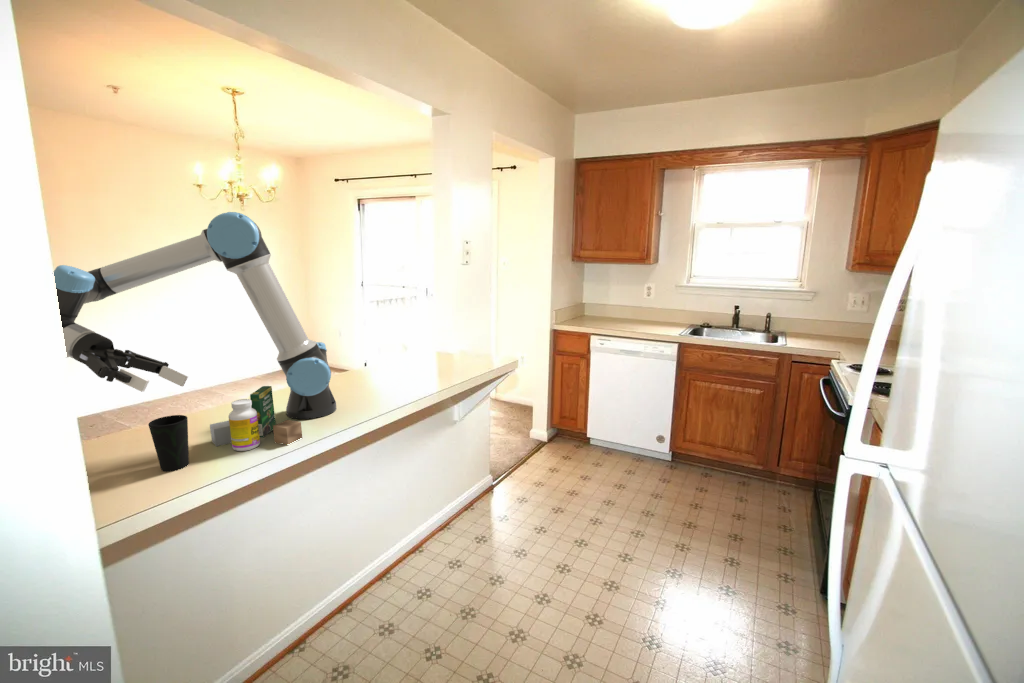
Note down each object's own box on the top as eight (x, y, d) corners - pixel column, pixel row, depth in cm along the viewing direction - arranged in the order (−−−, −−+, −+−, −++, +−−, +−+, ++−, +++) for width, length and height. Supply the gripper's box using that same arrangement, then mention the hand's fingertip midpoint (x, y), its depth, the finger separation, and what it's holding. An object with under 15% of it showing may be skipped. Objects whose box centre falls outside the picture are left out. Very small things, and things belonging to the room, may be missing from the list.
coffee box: (264, 438, 133) (259, 393, 130) (253, 438, 133) (248, 393, 130) (277, 427, 141) (272, 385, 138) (267, 427, 141) (262, 385, 138)
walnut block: (289, 436, 134) (287, 419, 133) (302, 438, 132) (300, 422, 131) (274, 442, 130) (272, 425, 129) (288, 445, 128) (286, 428, 127)
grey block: (232, 436, 134) (230, 420, 133) (236, 441, 131) (234, 424, 130) (211, 441, 131) (209, 424, 130) (216, 446, 127) (213, 429, 126)
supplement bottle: (255, 451, 124) (250, 404, 122) (228, 452, 123) (222, 406, 121) (264, 441, 131) (259, 397, 128) (238, 442, 130) (233, 398, 127)
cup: (200, 459, 119) (194, 414, 117) (180, 473, 112) (173, 425, 110) (169, 459, 119) (162, 415, 117) (148, 474, 112) (140, 426, 109)
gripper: (119, 358, 126) (192, 392, 126) (26, 361, 101) (118, 404, 101) (132, 333, 126) (204, 367, 127) (42, 330, 101) (133, 372, 102)
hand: (166, 383), depth 114 cm, fingers open, 13 cm apart
